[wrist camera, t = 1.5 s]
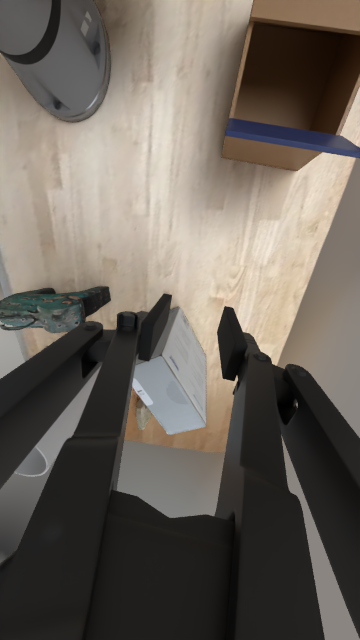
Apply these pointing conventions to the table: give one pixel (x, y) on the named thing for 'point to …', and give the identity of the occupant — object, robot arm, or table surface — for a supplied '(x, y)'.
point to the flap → (291, 137)
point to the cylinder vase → (56, 435)
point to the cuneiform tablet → (142, 414)
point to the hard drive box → (174, 377)
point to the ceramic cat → (51, 308)
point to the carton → (296, 75)
